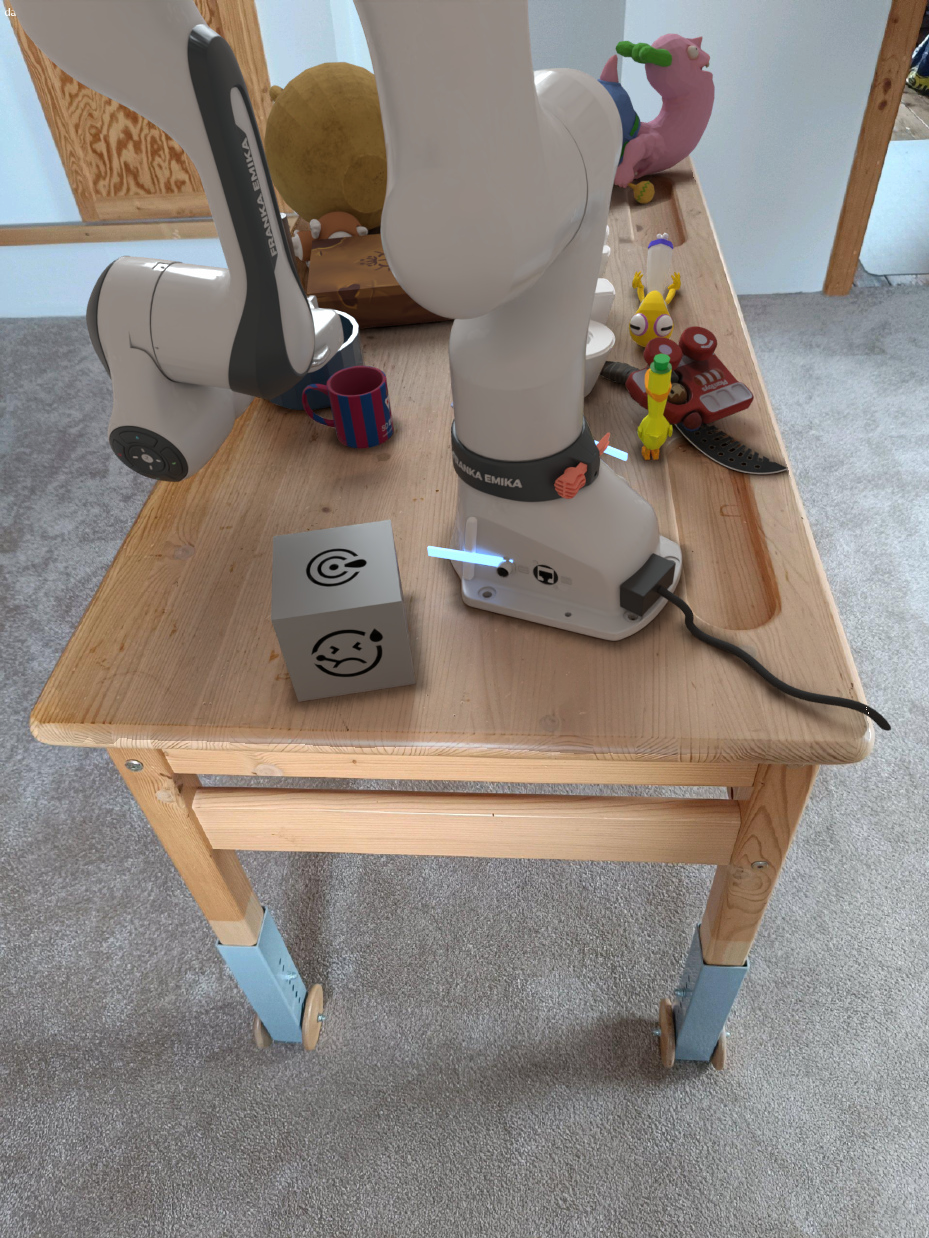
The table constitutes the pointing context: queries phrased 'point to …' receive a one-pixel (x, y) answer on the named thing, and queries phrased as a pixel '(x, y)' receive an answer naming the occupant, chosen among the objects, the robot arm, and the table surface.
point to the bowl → (326, 369)
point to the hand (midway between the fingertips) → (270, 300)
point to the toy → (680, 118)
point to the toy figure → (656, 407)
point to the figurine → (326, 232)
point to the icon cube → (340, 610)
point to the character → (654, 294)
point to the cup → (356, 406)
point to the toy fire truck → (693, 380)
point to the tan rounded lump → (328, 143)
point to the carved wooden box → (361, 283)
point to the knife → (705, 434)
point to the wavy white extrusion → (599, 325)
